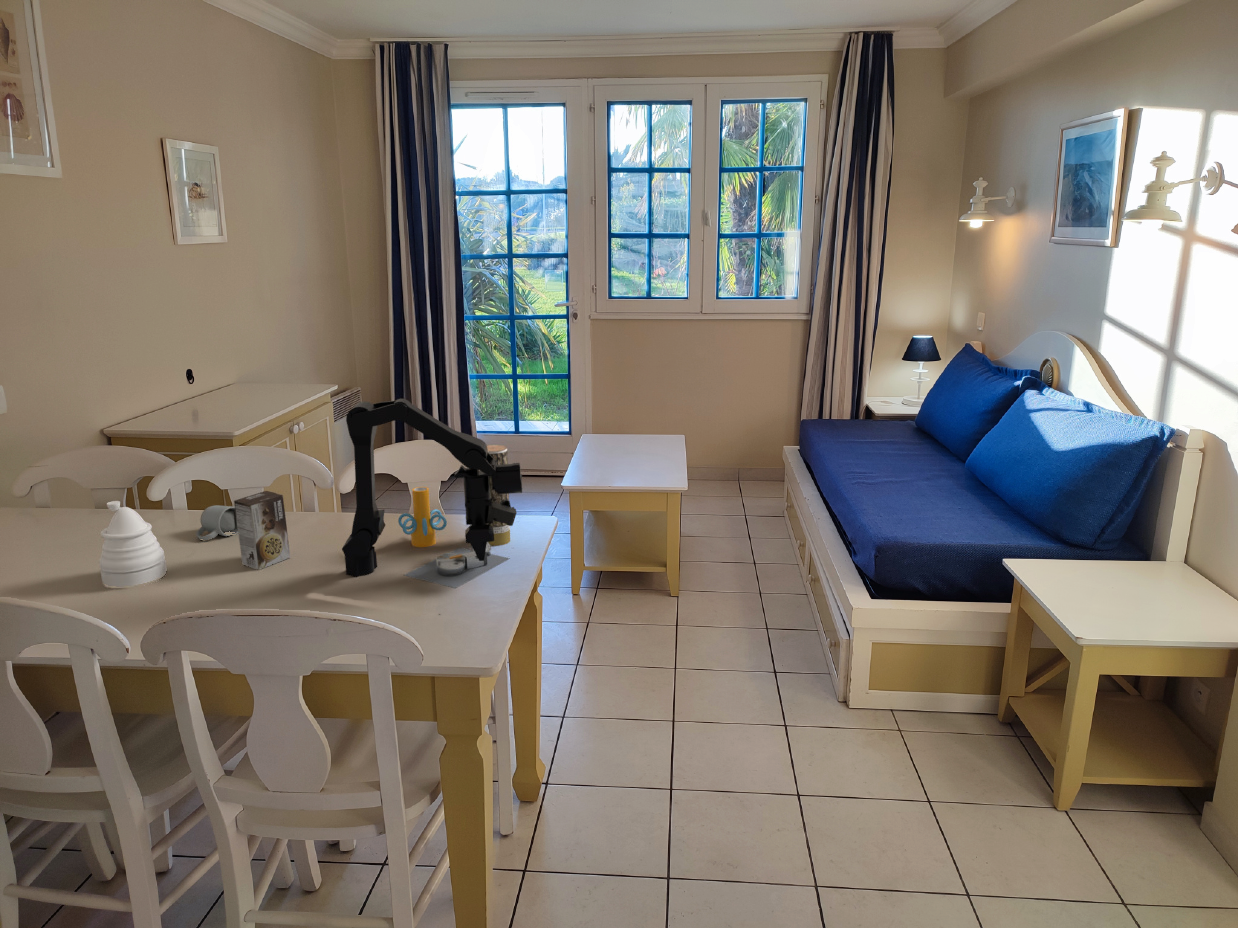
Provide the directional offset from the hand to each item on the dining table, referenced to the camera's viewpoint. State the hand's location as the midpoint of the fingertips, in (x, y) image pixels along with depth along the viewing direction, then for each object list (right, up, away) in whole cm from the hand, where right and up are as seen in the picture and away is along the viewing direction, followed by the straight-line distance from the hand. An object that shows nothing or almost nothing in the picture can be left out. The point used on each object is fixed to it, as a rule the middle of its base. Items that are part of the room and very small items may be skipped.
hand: (481, 560), depth 194 cm
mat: (-6, -3, +2) cm, 6 cm away
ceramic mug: (-72, +4, +25) cm, 76 cm away
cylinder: (-17, +1, +17) cm, 24 cm away
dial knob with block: (-5, -2, 0) cm, 5 cm away
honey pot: (-78, -4, -2) cm, 78 cm away
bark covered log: (+1, +2, +18) cm, 18 cm away
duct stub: (-1, 0, +8) cm, 8 cm away
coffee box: (-52, -1, +7) cm, 53 cm away
